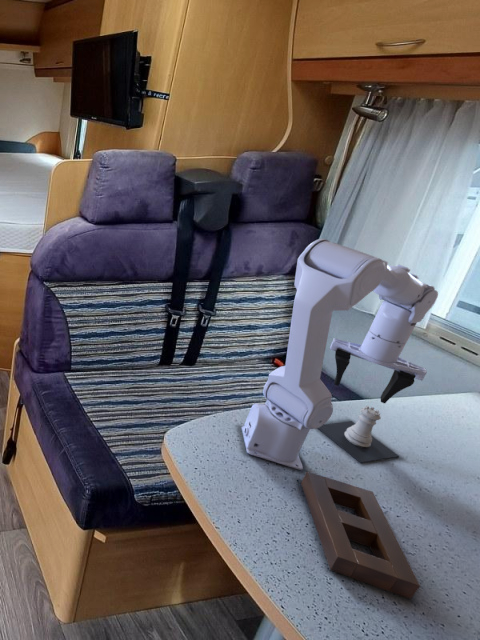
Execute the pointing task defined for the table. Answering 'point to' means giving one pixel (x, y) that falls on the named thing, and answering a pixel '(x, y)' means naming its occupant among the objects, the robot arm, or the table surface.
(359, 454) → the pad
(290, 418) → the robot arm
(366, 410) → the rook chess piece
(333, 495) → the frame
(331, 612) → the table surface
